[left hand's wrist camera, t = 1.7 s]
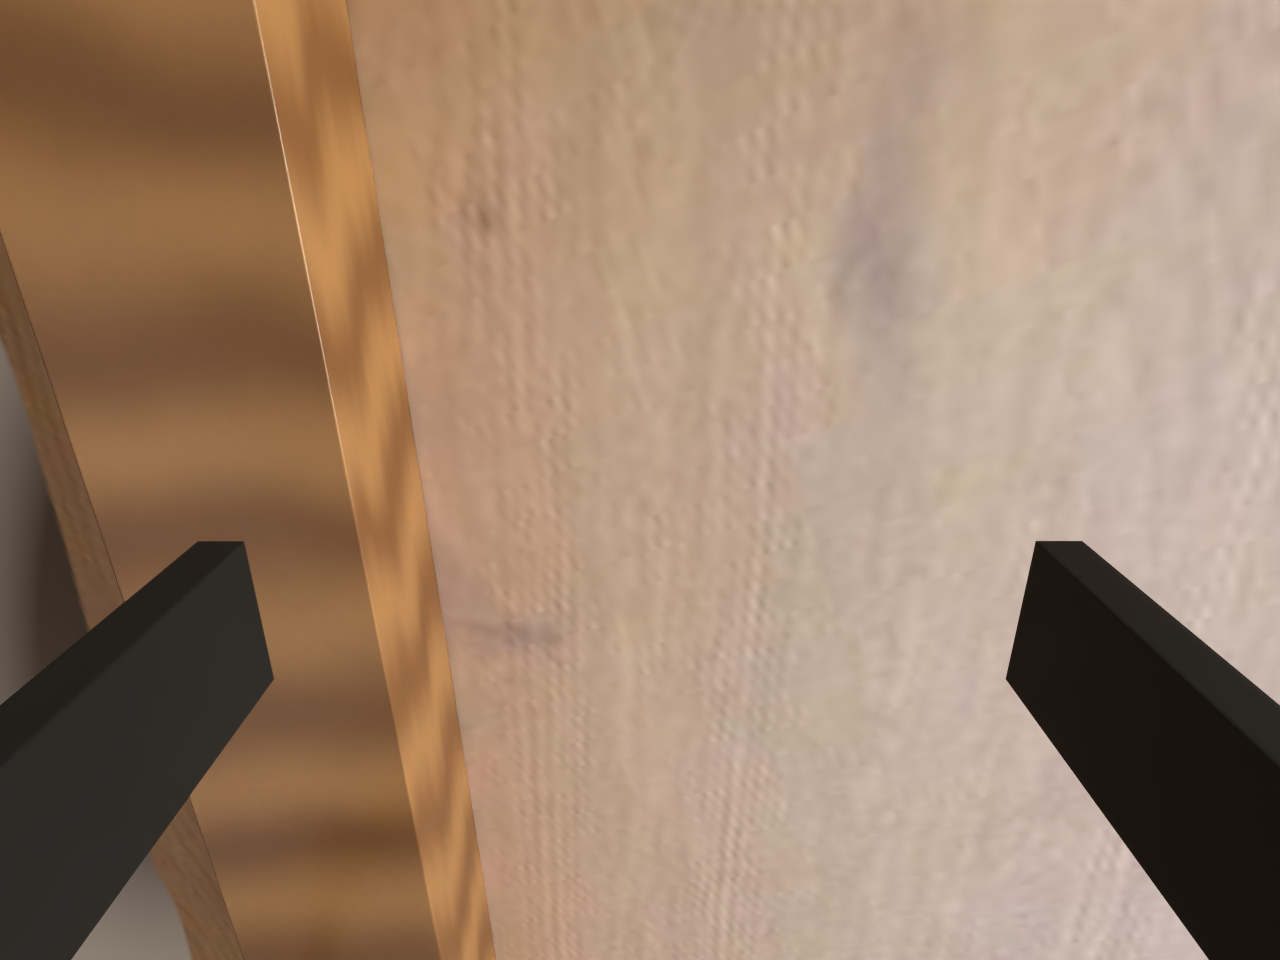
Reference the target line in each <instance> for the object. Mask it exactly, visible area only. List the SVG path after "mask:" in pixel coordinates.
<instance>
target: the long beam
mask: <svg viewBox="0 0 1280 960" xmlns="http://www.w3.org/2000/svg"><path fill="white" fill-rule="evenodd" d="M0 234H1V237H2V240H3V243H4V246H5V249H6V252H7V255H8V258H9V260H10V263H11V266H12V269H13V272H14V275H15V278H16V281H17V284H18V287H19V290H20V293H21V296H22V299H23V302H24V305H25V308H26V311H27V314H28V317H29V320H30V323H31V326H32V329H33V332H34V335H35V338H36V341H37V344H38V347H39V350H40V353H41V356H42V359H43V362H44V365H45V368H46V371H47V374H48V377H49V380H50V383H51V386H52V389H53V392H54V395H55V398H56V401H57V404H58V407H59V410H60V413H61V416H62V419H63V422H64V425H65V428H66V431H67V434H68V437H69V440H70V443H71V446H72V449H73V452H74V455H75V458H76V461H77V463H78V466H79V469H80V472H81V475H82V478H83V481H84V484H85V487H86V490H87V493H88V496H89V499H90V502H91V505H92V508H93V511H94V514H95V517H96V520H97V523H98V526H99V529H100V532H101V535H102V538H103V541H104V544H105V547H106V550H107V553H108V556H109V559H110V562H111V565H112V568H113V571H114V574H115V577H116V580H117V583H118V586H119V589H120V592H121V595H122V598H123V601H124V602H125V601H127V600H128V599H129V598H130V597H131V596H133V595H134V594H135V593H136V592H137V591H139V590H140V589H141V588H142V587H143V586H145V585H146V584H147V583H148V582H149V581H151V580H152V579H153V578H154V577H155V576H157V575H158V574H159V573H160V572H161V571H163V570H164V569H165V568H166V567H167V566H169V565H170V564H171V563H172V562H173V561H175V560H176V559H177V558H178V557H179V556H181V555H182V554H183V553H184V552H185V551H187V550H188V549H189V548H190V547H191V546H193V545H194V544H195V543H196V542H198V541H244V543H245V548H246V552H247V557H248V561H249V566H250V571H251V575H252V580H253V584H254V589H255V594H256V598H257V603H258V607H259V612H260V616H261V621H262V626H263V630H264V635H265V639H266V644H267V649H268V653H269V658H270V662H271V667H272V671H273V676H274V680H273V681H272V683H271V684H270V685H269V687H268V688H267V690H266V691H265V692H264V694H263V695H262V697H261V698H260V699H259V701H258V702H257V703H256V705H255V706H254V708H253V709H252V710H251V712H250V713H249V714H248V716H247V717H246V719H245V720H244V721H243V723H242V724H241V726H240V727H239V728H238V730H237V731H236V732H235V734H234V735H233V737H232V738H231V739H230V741H229V742H228V743H227V745H226V746H225V748H224V749H223V750H222V752H221V753H220V755H219V756H218V757H217V759H216V760H215V761H214V763H213V764H212V766H211V767H210V768H209V770H208V771H207V772H206V774H205V775H204V777H203V778H202V779H201V781H200V782H199V784H198V785H197V786H196V788H195V789H194V790H193V792H192V793H191V795H190V796H189V798H190V801H191V804H192V807H193V810H194V813H195V816H196V819H197V822H198V825H199V828H200V831H201V834H202V837H203V840H204V843H205V846H206V849H207V852H208V855H209V858H210V861H211V864H212V867H213V870H214V872H215V875H216V878H217V881H218V884H219V887H220V890H221V893H222V896H223V899H224V902H225V905H226V908H227V911H228V914H229V917H230V920H231V923H232V926H233V929H234V932H235V935H236V938H237V941H238V944H239V947H240V950H241V953H242V956H243V959H244V960H496V957H495V951H494V945H493V938H492V932H491V925H490V919H489V913H488V906H487V900H486V894H485V887H484V881H483V874H482V868H481V862H480V855H479V849H478V842H477V836H476V830H475V823H474V817H473V811H472V804H471V798H470V791H469V785H468V779H467V772H466V766H465V760H464V753H463V747H462V740H461V734H460V728H459V721H458V715H457V708H456V702H455V696H454V689H453V683H452V677H451V670H450V664H449V657H448V651H447V645H446V638H445V632H444V626H443V619H442V613H441V606H440V600H439V594H438V587H437V581H436V575H435V568H434V562H433V555H432V549H431V543H430V536H429V530H428V523H427V517H426V511H425V504H424V498H423V492H422V485H421V479H420V472H419V466H418V460H417V453H416V447H415V441H414V434H413V428H412V421H411V415H410V409H409V402H408V396H407V389H406V383H405V377H404V370H403V364H402V358H401V351H400V345H399V338H398V332H397V326H396V319H395V313H394V307H393V300H392V294H391V287H390V281H389V275H388V268H387V262H386V256H385V249H384V243H383V236H382V230H381V224H380V217H379V211H378V204H377V198H376V192H375V185H374V179H373V173H372V166H371V160H370V153H369V147H368V141H367V134H366V128H365V122H364V115H363V109H362V102H361V96H360V90H359V83H358V77H357V70H356V64H355V58H354V51H353V45H352V39H351V32H350V26H349V19H348V13H347V7H346V0H0Z"/></svg>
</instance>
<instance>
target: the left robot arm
mask: <svg viewBox="0 0 1280 960" xmlns="http://www.w3.org/2000/svg"><path fill="white" fill-rule="evenodd" d="M273 680H274V676H273V671H272V667H271V662H270V658H269V653H268V649H267V644H266V639H265V635H264V630H263V626H262V621H261V616H260V612H259V607H258V603H257V598H256V594H255V589H254V584H253V580H252V575H251V571H250V566H249V561H248V557H247V552H246V548H245V543H244V541H198V542H196V543H195V544H194V545H193V546H191V547H190V548H189V549H188V550H187V551H185V552H184V553H183V554H182V555H181V556H179V557H178V558H177V559H176V560H175V561H173V562H172V563H171V564H170V565H169V566H167V567H166V568H165V569H164V570H163V571H161V572H160V573H159V574H158V575H157V576H155V577H154V578H153V579H152V580H151V581H149V582H148V583H147V584H146V585H145V586H143V587H142V588H141V589H140V590H139V591H137V592H136V593H135V594H134V595H133V596H131V597H130V598H129V599H128V600H127V601H125V602H124V603H123V604H122V605H121V606H119V607H118V608H117V609H116V610H114V611H113V612H112V613H111V614H110V615H108V616H107V617H106V618H105V619H104V620H102V621H101V622H100V623H99V624H98V625H96V626H95V627H94V628H93V629H92V630H90V631H89V632H88V633H87V634H86V635H84V636H83V637H82V638H81V639H80V640H78V641H77V642H76V643H75V644H74V645H72V646H71V647H70V648H69V649H68V650H66V651H65V652H64V653H63V654H62V655H60V656H59V657H58V658H57V659H56V660H54V661H53V662H52V663H51V664H50V665H48V666H47V667H46V668H45V669H43V670H42V671H41V672H40V673H39V674H37V675H36V676H35V677H34V678H33V679H31V680H30V681H29V682H28V683H27V684H25V685H24V686H23V687H22V688H21V689H19V690H18V691H17V692H16V693H15V694H13V695H12V696H11V697H10V698H9V699H7V700H6V701H5V702H4V703H3V704H1V705H0V960H71V959H72V958H73V956H74V955H75V953H76V952H77V951H78V949H79V948H80V947H81V945H82V944H83V942H84V941H85V940H86V938H87V937H88V935H89V934H90V933H91V931H92V930H93V928H94V927H95V926H96V924H97V923H98V922H99V920H100V919H101V918H102V916H103V915H104V913H105V912H106V910H107V909H108V908H109V906H110V905H111V904H112V902H113V901H114V900H115V898H116V897H117V895H118V894H119V893H120V891H121V890H122V888H123V887H124V886H125V884H126V883H127V882H128V880H129V879H130V877H131V876H132V875H133V873H134V872H135V871H136V869H137V868H138V866H139V865H140V864H141V862H142V861H143V859H144V858H145V857H146V855H147V854H148V853H149V851H150V850H151V848H152V847H153V846H154V844H155V843H156V842H157V840H158V839H159V837H160V836H161V835H162V833H163V832H164V831H165V829H166V828H167V826H168V825H169V824H170V822H171V821H172V819H173V818H174V817H175V815H176V814H177V813H178V811H179V810H180V808H181V807H182V806H183V804H184V803H185V802H186V800H187V799H188V797H189V796H190V795H191V793H192V792H193V790H194V789H195V788H196V786H197V785H198V784H199V782H200V781H201V779H202V778H203V777H204V775H205V774H206V772H207V771H208V770H209V768H210V767H211V766H212V764H213V763H214V761H215V760H216V759H217V757H218V756H219V755H220V753H221V752H222V750H223V749H224V748H225V746H226V745H227V743H228V742H229V741H230V739H231V738H232V737H233V735H234V734H235V732H236V731H237V730H238V728H239V727H240V726H241V724H242V723H243V721H244V720H245V719H246V717H247V716H248V714H249V713H250V712H251V710H252V709H253V708H254V706H255V705H256V703H257V702H258V701H259V699H260V698H261V697H262V695H263V694H264V692H265V691H266V690H267V688H268V687H269V685H270V684H271V683H272V681H273ZM1006 680H1007V681H1008V683H1009V684H1010V685H1011V687H1012V688H1013V690H1014V691H1015V692H1016V694H1017V695H1018V697H1019V698H1020V699H1021V701H1022V702H1023V703H1024V705H1025V706H1026V708H1027V709H1028V710H1029V712H1030V713H1031V714H1032V716H1033V717H1034V719H1035V720H1036V721H1037V723H1038V724H1039V726H1040V727H1041V728H1042V730H1043V731H1044V732H1045V734H1046V735H1047V737H1048V738H1049V739H1050V741H1051V742H1052V743H1053V745H1054V746H1055V748H1056V749H1057V750H1058V752H1059V753H1060V755H1061V756H1062V757H1063V759H1064V760H1065V761H1066V763H1067V764H1068V766H1069V767H1070V768H1071V770H1072V771H1073V772H1074V774H1075V775H1076V777H1077V778H1078V779H1079V781H1080V782H1081V784H1082V785H1083V786H1084V788H1085V789H1086V790H1087V792H1088V793H1089V795H1090V796H1091V797H1092V799H1093V800H1094V802H1095V803H1096V804H1097V806H1098V807H1099V808H1100V810H1101V811H1102V813H1103V814H1104V815H1105V817H1106V818H1107V819H1108V821H1109V822H1110V824H1111V825H1112V826H1113V828H1114V829H1115V831H1116V832H1117V833H1118V835H1119V836H1120V837H1121V839H1122V840H1123V842H1124V843H1125V844H1126V846H1127V847H1128V848H1129V850H1130V851H1131V853H1132V854H1133V855H1134V857H1135V858H1136V860H1137V861H1138V862H1139V864H1140V865H1141V866H1142V868H1143V869H1144V871H1145V872H1146V873H1147V875H1148V876H1149V877H1150V879H1151V880H1152V882H1153V883H1154V884H1155V886H1156V887H1157V889H1158V890H1159V891H1160V893H1161V894H1162V895H1163V897H1164V898H1165V900H1166V901H1167V902H1168V904H1169V905H1170V906H1171V908H1172V909H1173V911H1174V912H1175V913H1176V915H1177V916H1178V918H1179V919H1180V920H1181V922H1182V923H1183V924H1184V926H1185V927H1186V929H1187V930H1188V931H1189V933H1190V934H1191V935H1192V937H1193V938H1194V940H1195V941H1196V942H1197V944H1198V945H1199V947H1200V948H1201V949H1202V951H1203V952H1204V953H1205V955H1206V956H1207V958H1208V959H1209V960H1280V705H1279V704H1277V703H1276V702H1275V701H1274V700H1273V699H1271V698H1270V697H1269V696H1268V695H1267V694H1265V693H1264V692H1263V691H1262V690H1261V689H1259V688H1258V687H1257V686H1256V685H1255V684H1253V683H1252V682H1251V681H1250V680H1249V679H1247V678H1246V677H1245V676H1244V675H1243V674H1241V673H1240V672H1239V671H1238V670H1237V669H1235V668H1234V667H1233V666H1232V665H1230V664H1229V663H1228V662H1227V661H1226V660H1224V659H1223V658H1222V657H1221V656H1220V655H1218V654H1217V653H1216V652H1215V651H1214V650H1212V649H1211V648H1210V647H1209V646H1208V645H1206V644H1205V643H1204V642H1203V641H1202V640H1200V639H1199V638H1198V637H1197V636H1196V635H1194V634H1193V633H1192V632H1191V631H1190V630H1188V629H1187V628H1186V627H1185V626H1184V625H1182V624H1181V623H1180V622H1179V621H1178V620H1176V619H1175V618H1174V617H1173V616H1172V615H1170V614H1169V613H1168V612H1167V611H1166V610H1164V609H1163V608H1162V607H1161V606H1159V605H1158V604H1157V603H1156V602H1155V601H1153V600H1152V599H1151V598H1150V597H1149V596H1147V595H1146V594H1145V593H1144V592H1143V591H1141V590H1140V589H1139V588H1138V587H1137V586H1135V585H1134V584H1133V583H1132V582H1131V581H1129V580H1128V579H1127V578H1126V577H1125V576H1123V575H1122V574H1121V573H1120V572H1119V571H1117V570H1116V569H1115V568H1114V567H1113V566H1111V565H1110V564H1109V563H1108V562H1107V561H1105V560H1104V559H1103V558H1102V557H1101V556H1099V555H1098V554H1097V553H1096V552H1095V551H1093V550H1092V549H1091V548H1090V547H1089V546H1087V545H1086V544H1085V543H1084V542H1082V541H1036V543H1035V548H1034V552H1033V557H1032V561H1031V566H1030V571H1029V575H1028V580H1027V584H1026V589H1025V594H1024V598H1023V603H1022V607H1021V612H1020V616H1019V621H1018V626H1017V630H1016V635H1015V639H1014V644H1013V649H1012V653H1011V658H1010V662H1009V667H1008V671H1007V676H1006Z"/></svg>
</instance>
